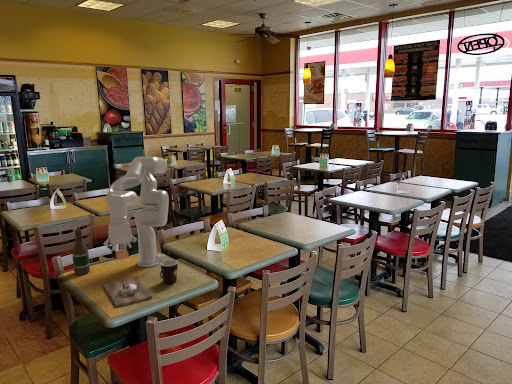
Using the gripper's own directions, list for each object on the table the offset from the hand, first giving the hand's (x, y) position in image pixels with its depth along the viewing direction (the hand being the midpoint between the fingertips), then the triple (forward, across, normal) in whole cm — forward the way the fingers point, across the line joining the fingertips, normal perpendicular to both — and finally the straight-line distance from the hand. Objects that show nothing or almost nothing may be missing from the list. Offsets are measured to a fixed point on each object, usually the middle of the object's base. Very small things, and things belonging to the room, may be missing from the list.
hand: (121, 256), depth 188 cm
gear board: (+17, 0, +5) cm, 17 cm away
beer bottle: (+17, +14, -32) cm, 39 cm away
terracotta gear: (+1, 0, 0) cm, 1 cm away
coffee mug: (+17, -20, +5) cm, 27 cm away
